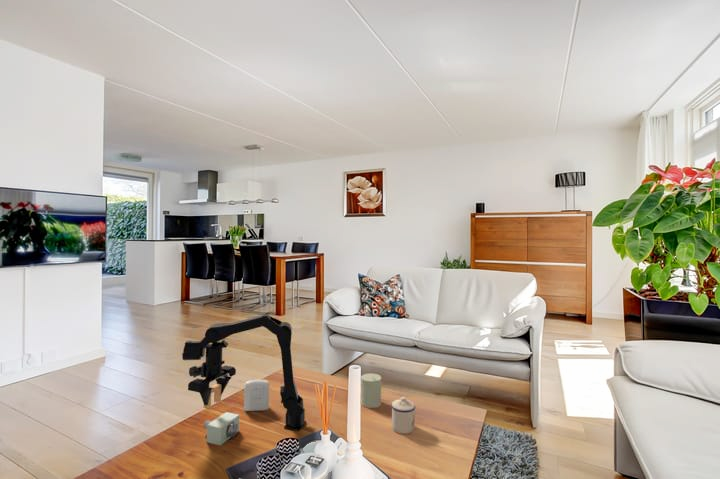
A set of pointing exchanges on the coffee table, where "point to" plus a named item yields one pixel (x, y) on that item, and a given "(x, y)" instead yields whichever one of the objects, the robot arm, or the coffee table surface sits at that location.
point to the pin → (230, 428)
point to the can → (371, 390)
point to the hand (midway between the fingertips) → (212, 401)
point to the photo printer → (256, 395)
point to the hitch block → (221, 428)
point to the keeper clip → (217, 395)
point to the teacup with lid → (403, 415)
